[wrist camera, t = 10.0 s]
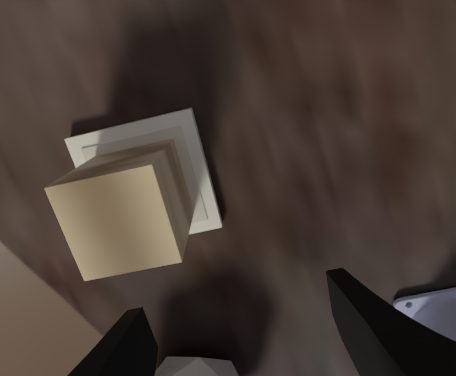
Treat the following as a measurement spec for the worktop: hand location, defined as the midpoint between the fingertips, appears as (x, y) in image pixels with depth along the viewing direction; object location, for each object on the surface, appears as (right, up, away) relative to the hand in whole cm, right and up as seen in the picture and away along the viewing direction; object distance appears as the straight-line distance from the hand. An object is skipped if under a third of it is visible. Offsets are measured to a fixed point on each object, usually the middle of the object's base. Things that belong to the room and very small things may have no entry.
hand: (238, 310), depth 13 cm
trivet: (-6, +5, +9) cm, 12 cm away
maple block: (-6, +5, +8) cm, 11 cm away
